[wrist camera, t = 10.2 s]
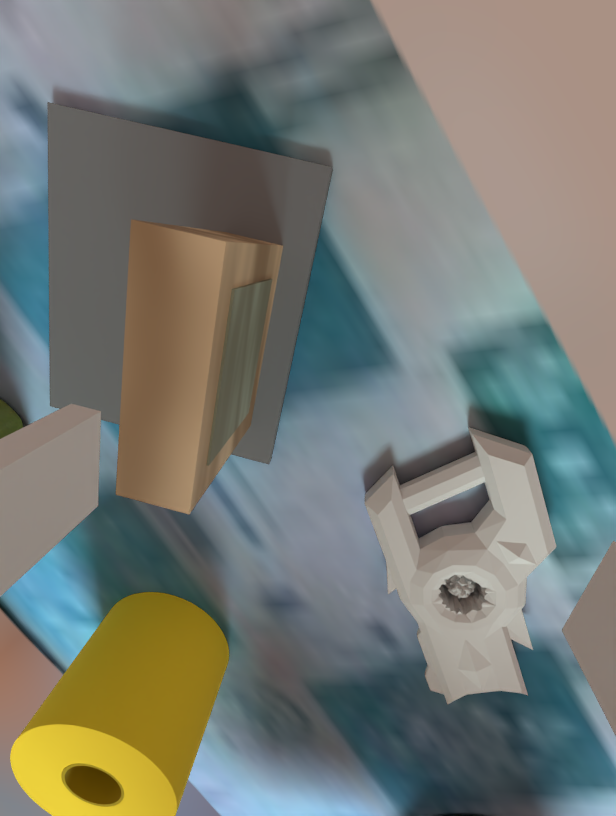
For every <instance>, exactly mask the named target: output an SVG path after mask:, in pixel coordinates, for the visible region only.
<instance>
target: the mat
mask: <svg viewBox="0 0 616 816" xmlns="http://www.w3.org/2000/svg"><path fill="white" fill-rule="evenodd" d="M332 171H333V168H332V167H330V166H326V165H321V164H317V163H312V162H308V161H304V160H299V159H295V158H291V157H286V156H282V155H277V154H273V153H269V152H264V151H260V150H255V149H251V148H247V147H242V146H238V145H233V144H229V143H225V142H220V141H216V140H212V139H207V138H203V137H198V136H194V135H190V134H185V133H181V132H176V131H172V130H168V129H163V128H159V127H154V126H150V125H146V124H141V123H137V122H133V121H128V120H124V119H119V118H115V117H111V116H106V115H102V114H97V113H93V112H89V111H84V110H80V109H75V108H71V107H67V106H62V105H58V104H54V103H49V102H48V215H49V343H50V406H52V407H55V408H59V409H61V408H63V407H65V406H67V405H69V404H74V405H78V406H82V407H86V408H90V409H94V410H98V411H101V420H104V421H108V422H112V423H115V424H119V425H120V408H121V390H122V372H123V354H124V336H125V318H126V300H127V282H128V264H129V246H130V228H131V219H132V220H139V221H147V222H154V223H162V224H169V225H176V226H184V227H191V228H199V229H206V230H213V231H221V232H227V233H231V234H235V235H240V236H244V237H248V238H252V239H257V240H261V241H265V242H269V243H274V244H278V245H282V246H283V250H282V256H281V261H280V267H279V272H278V278H277V283H276V289H275V294H274V300H273V305H272V311H271V316H270V322H269V327H268V333H267V338H266V344H265V349H264V355H263V360H262V366H261V371H260V377H259V382H258V388H257V393H256V399H255V404H254V410H253V415H252V421H251V426H250V427H249V429H248V430H247V432H246V433H245V434H244V436H243V437H242V439H241V440H240V442H239V443H238V445H237V446H236V447H235V449H234V450H233V452H232V453H231V454H232V455H236V456H240V457H243V458H247V459H251V460H255V461H258V462H262V463H266V464H269V463H270V461H271V458H272V453H273V449H274V444H275V439H276V435H277V430H278V425H279V420H280V416H281V411H282V406H283V402H284V397H285V392H286V388H287V383H288V378H289V373H290V369H291V364H292V359H293V355H294V350H295V345H296V340H297V336H298V331H299V326H300V322H301V317H302V312H303V308H304V303H305V298H306V293H307V289H308V284H309V279H310V275H311V270H312V265H313V260H314V256H315V251H316V246H317V242H318V237H319V232H320V228H321V223H322V218H323V213H324V209H325V204H326V199H327V195H328V190H329V185H330V181H331V176H332Z"/></svg>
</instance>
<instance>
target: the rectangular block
mask: <svg viewBox="0 0 616 816" xmlns="http://www.w3.org/2000/svg"><path fill="white" fill-rule="evenodd" d="M282 250H283V246H282V245H278V244H274V243H269V242H265V241H261V240H257V239H252V238H248V237H244V236H240V235H235V234H231V233H227V232H221V231H213V230H206V229H199V228H191V227H184V226H176V225H169V224H162V223H154V222H147V221H139V220H132V219H131V228H130V246H129V264H128V282H127V300H126V318H125V336H124V354H123V372H122V390H121V408H120V426H119V444H118V462H117V480H116V495H119V496H123V497H127V498H130V499H134V500H138V501H141V502H145V503H149V504H152V505H156V506H160V507H163V508H167V509H171V510H174V511H178V512H182V513H185V514H190V513H191V511H192V510H193V508H194V507H195V506H196V504H197V503H198V501H199V500H200V498H201V497H202V495H203V494H204V492H205V491H206V490H207V488H208V487H209V485H210V484H211V482H212V481H213V479H214V478H215V477H216V475H217V474H218V472H219V471H220V469H221V468H222V466H223V465H224V463H225V462H226V461H227V459H228V458H229V456H230V455H231V453H232V452H233V450H234V449H235V447H236V446H237V445H238V443H239V442H240V440H241V439H242V437H243V436H244V434H245V433H246V432H247V430H248V429H249V427H250V426H251V421H252V415H253V410H254V404H255V399H256V393H257V388H258V382H259V377H260V371H261V366H262V360H263V355H264V349H265V344H266V338H267V333H268V327H269V322H270V316H271V311H272V305H273V300H274V294H275V289H276V283H277V278H278V272H279V267H280V261H281V256H282Z"/></svg>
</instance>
